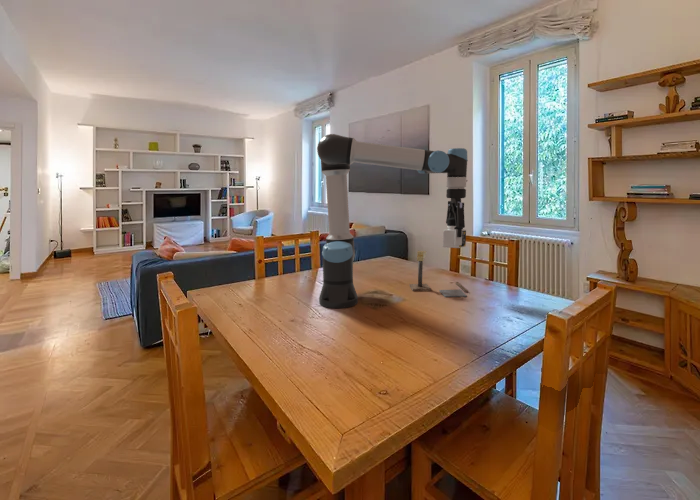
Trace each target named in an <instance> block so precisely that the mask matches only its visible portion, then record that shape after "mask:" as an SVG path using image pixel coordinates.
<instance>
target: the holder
mask: <svg viewBox="0 0 700 500" xmlns="http://www.w3.org/2000/svg"><path fill="white" fill-rule="evenodd" d="M417 262H418V265H417V267H418V269H417V283H409V288H410V289H411V290H412V292H431V291H432V288H431V286H430V285H429V284H428V283H423V270H424V269H423V264H424V263H423V262H424V261H417ZM455 285H456V286H457V287H459V288H460V290H461V291H462V292H464V293H468V291H469V290H468V289H467V288H466V287H464V286H463V285H462V284H461V283H459V281H455Z"/></svg>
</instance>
